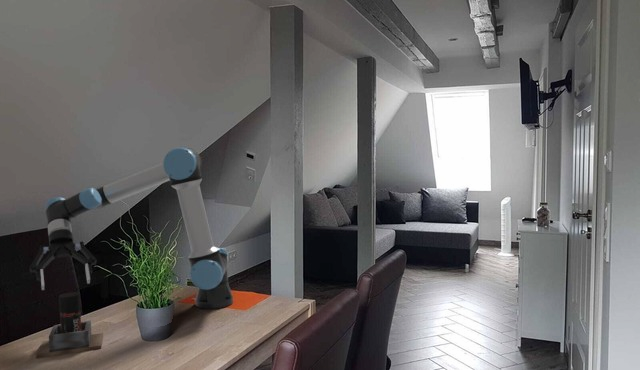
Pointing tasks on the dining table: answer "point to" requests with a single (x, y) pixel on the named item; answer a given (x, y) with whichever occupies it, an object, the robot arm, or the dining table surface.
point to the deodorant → (70, 312)
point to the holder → (70, 341)
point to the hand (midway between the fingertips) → (66, 284)
